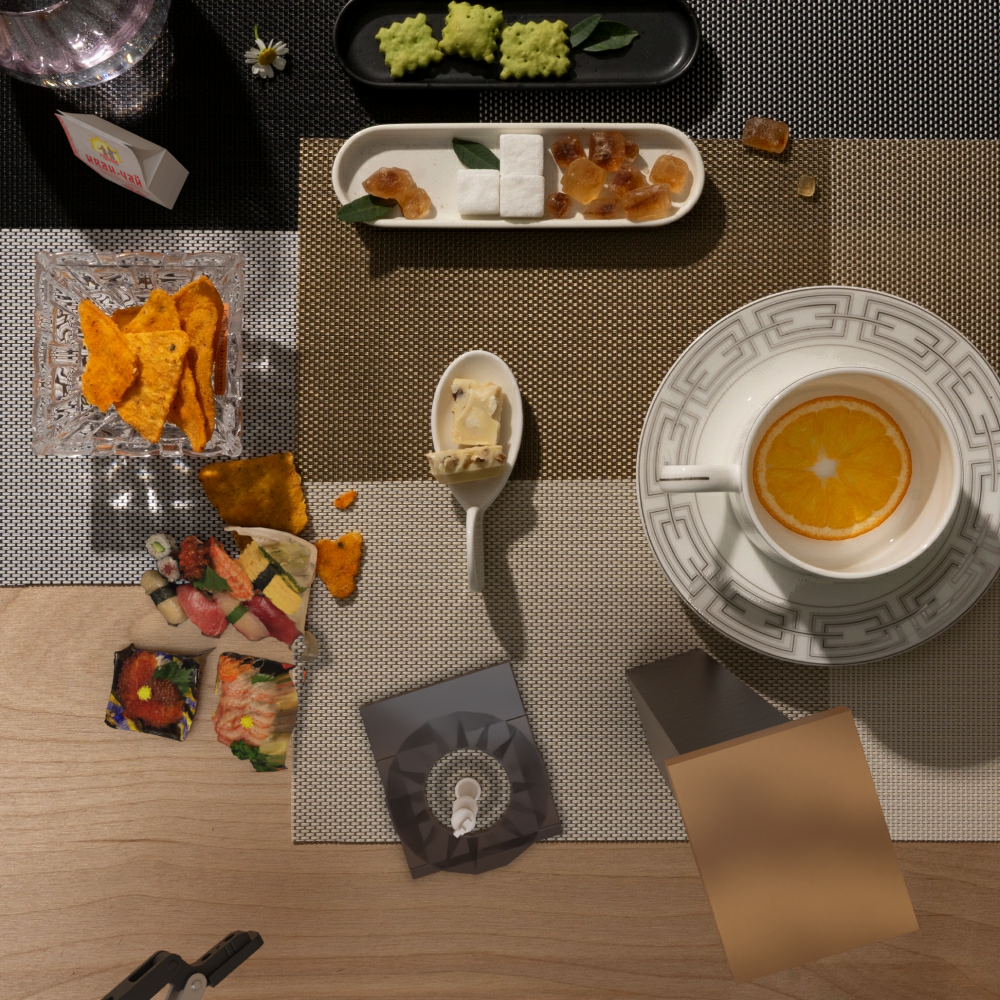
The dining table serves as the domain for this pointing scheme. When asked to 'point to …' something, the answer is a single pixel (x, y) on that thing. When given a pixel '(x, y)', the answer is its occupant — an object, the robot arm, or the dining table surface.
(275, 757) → the food
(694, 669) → the pillar
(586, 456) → the dining table surface
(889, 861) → the tan rectangular panel
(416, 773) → the board
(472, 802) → the chess piece
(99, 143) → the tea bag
